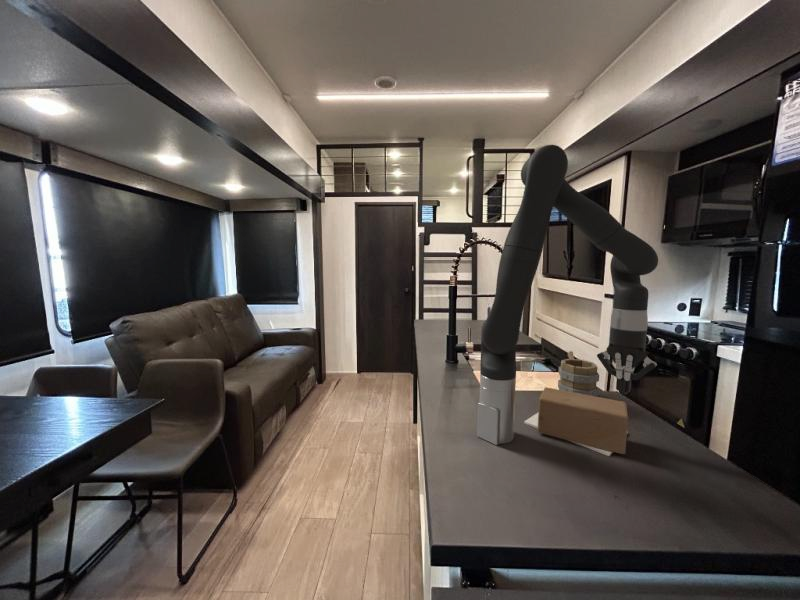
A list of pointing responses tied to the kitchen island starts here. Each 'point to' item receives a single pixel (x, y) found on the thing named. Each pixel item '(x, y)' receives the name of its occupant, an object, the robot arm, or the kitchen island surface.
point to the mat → (534, 423)
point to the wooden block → (583, 419)
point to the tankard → (578, 376)
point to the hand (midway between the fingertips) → (623, 392)
